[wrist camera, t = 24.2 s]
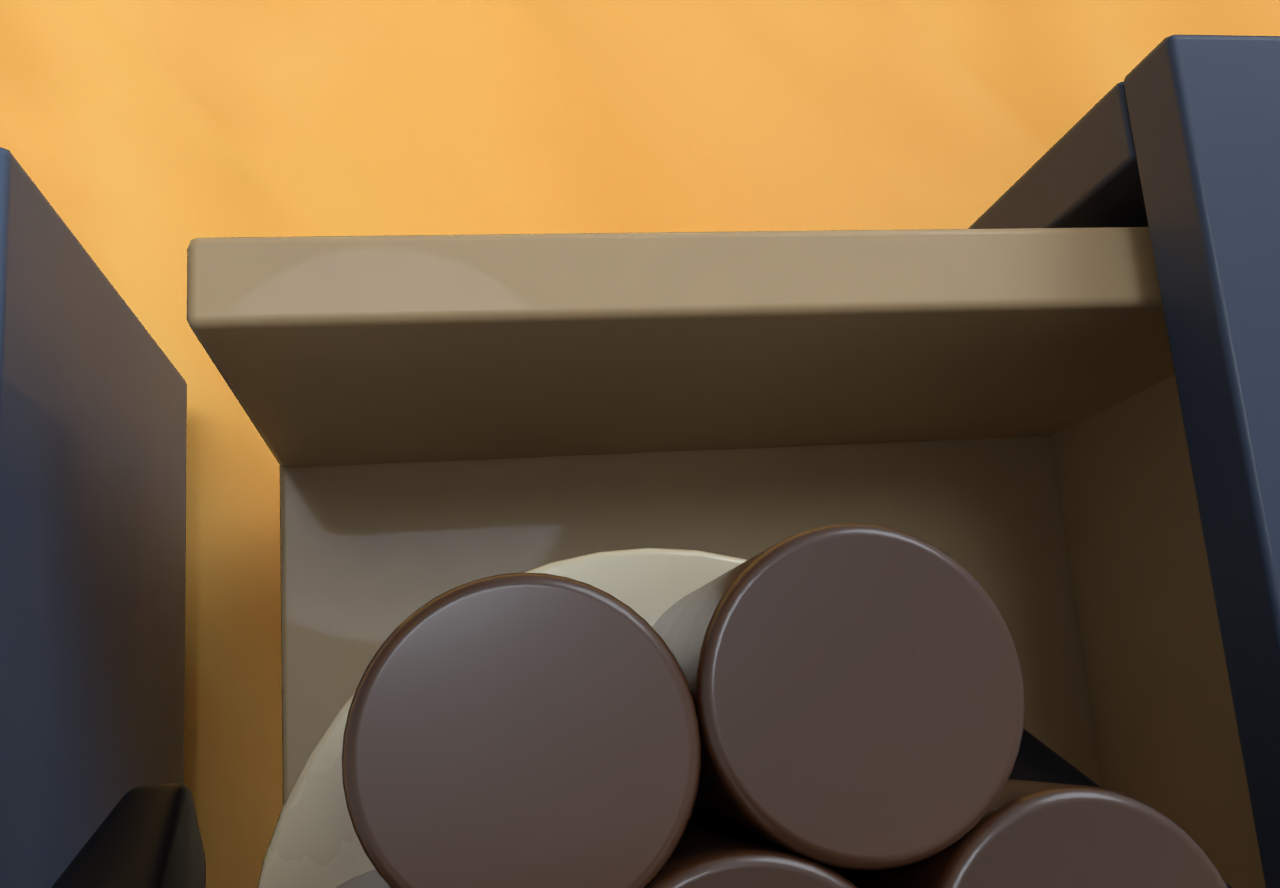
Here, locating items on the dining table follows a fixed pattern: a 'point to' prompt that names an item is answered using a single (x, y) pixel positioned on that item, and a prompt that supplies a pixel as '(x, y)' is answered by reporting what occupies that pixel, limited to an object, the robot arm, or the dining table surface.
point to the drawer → (601, 468)
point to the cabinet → (1203, 321)
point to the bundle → (708, 737)
